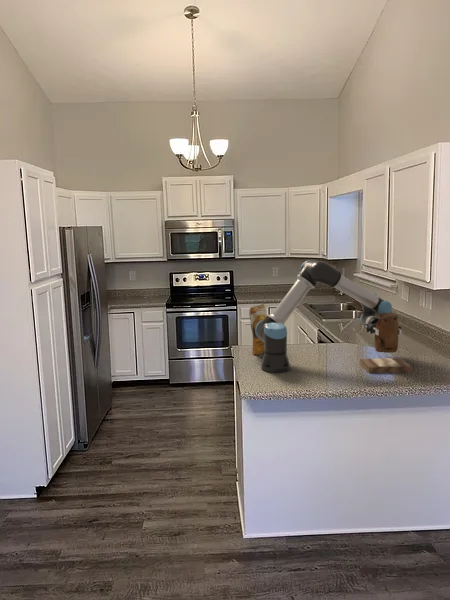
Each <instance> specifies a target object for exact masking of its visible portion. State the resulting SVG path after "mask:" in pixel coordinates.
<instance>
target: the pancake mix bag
mask: <svg viewBox="0 0 450 600" xmlns="http://www.w3.org/2000/svg"><path fill="white" fill-rule="evenodd" d="M248 311H249V313H248V315H249V319H250V329H251V334H252V355H253V356H255V355H261V354H263V353H264V343H263V342H262V341H260V340H259V339H258V337H257V336H256V332H255V329H256V326H257V324H258V323H259V322H260V321H262V320H264V319H265V318H266V316H267V315H268V314H267V311H266V306H265V303H264V304H263V303H262V304H259V305H254V306H252V307H250V308H249V310H248Z"/></svg>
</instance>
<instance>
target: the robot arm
mask: <svg viewBox="0 0 450 600" xmlns="http://www.w3.org/2000/svg"><path fill="white" fill-rule="evenodd" d="M296 278H297V280H296V281H295V282H294V284H293V285H292V286H291V288H290V289H289V290H288V292H287V293H286V294H285V296H284V297H283V298H282V300H280V302H279V304H278V305H277V306H276V307H275V309H274V310H273V312H272V313H270V314H267V316H266V318H265V319H264V320H262V321H260V322H259V323H258V324H257V326H256V329H255V332H256V336H257V337H258V339H259V340H260V341H262V342H263V343H264V354H263V357H262V361H261V365H260V369H261V370H262V371H264V372H266V373H267V372H268V373H285V372H288V371H290V369H291V363H290V361H289V360H290V359H289V357H288V354H287V351H288V349H287V348H288V347H287V346H288V343H287V342H288V339H287V338H288V330H287V326H286V325H285V324H286V322H287V321H288V319H289V318H290V316H292V314H293V312H294V311H295V310H296V309H297V308H298V306H299V305H300V304H301V302H302V301H303V299H304V298H305V296H307V294H308V293H309V291H310V290H311V289H315V287H317V285H318V284H321V285H325V286H327V287H329V288H330V289H333V288H335V289H336V290H338V291H340V292H341V293H343V294H345V295H347V296H348V297H350V298H352V299H354V300H355V301H357V302H359V303H361V304H362V314H361V315H360V317H359V320H360V323H361V324H362V325H363V326H364V327H365V329H366V333H369V334H370V335H372V334H374V335H375V334H376V335H379V330H378V329H376V325H377V323H378V321H379V319H380V317H378V316H377V314H381V313H392V309H393V305H392V303H391V302H389V301H387V300H384V299H383V298H381V297H379V296H378V294H377V293H375V292H372V291H369V290H368V289H366V288H364V287H363V286H361V285H359V284H357V283H356V282H354V281H352V280H351V279H349V278H348V277H346V276H344V275H343V274H342V272H341V271H340V270H338V269H337V268H335V267H334V266H332V265H330V264H329V263H327V262H325V261H322V260H318V259H307V260H306V261H304V262H303V263H302V264H301V266H300V268H299V273H298V274H297V276H296ZM398 329H399V332H398V336H401V335H402V326H399V325H398Z"/></svg>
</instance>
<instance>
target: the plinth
mask: <svg viewBox="0 0 450 600" xmlns="http://www.w3.org/2000/svg"><path fill="white" fill-rule="evenodd" d="M359 365H360V366H361V367H362V368H363V370H365V371H366V372H367V373H368V374H389V373H390V374H393V373H413V365H411V364H410V363H408V362H407V361H406V360H404V359H403V358H401V357H399V358H398V357H397V358H391V357H390V358H386V357H384V358H379V357H378V358H360V359H359Z"/></svg>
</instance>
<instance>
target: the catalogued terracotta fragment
mask: <svg viewBox="0 0 450 600" xmlns="http://www.w3.org/2000/svg"><path fill="white" fill-rule="evenodd" d="M398 326H399V316H398V315H397V314H396V313H394V312H393V313H392V312H390V313H381V314H380V315H379V321H378V323H377V325H376V329H378V330H379V335H376V334H374V349H375V351H376V353H377V352H378V353H387V354H388V353H391V354H392V353H396V352H397V351H398V349H399V348H398V347H399V334H398V332H399V329H398Z"/></svg>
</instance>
